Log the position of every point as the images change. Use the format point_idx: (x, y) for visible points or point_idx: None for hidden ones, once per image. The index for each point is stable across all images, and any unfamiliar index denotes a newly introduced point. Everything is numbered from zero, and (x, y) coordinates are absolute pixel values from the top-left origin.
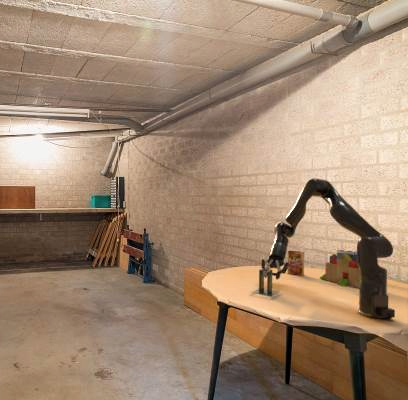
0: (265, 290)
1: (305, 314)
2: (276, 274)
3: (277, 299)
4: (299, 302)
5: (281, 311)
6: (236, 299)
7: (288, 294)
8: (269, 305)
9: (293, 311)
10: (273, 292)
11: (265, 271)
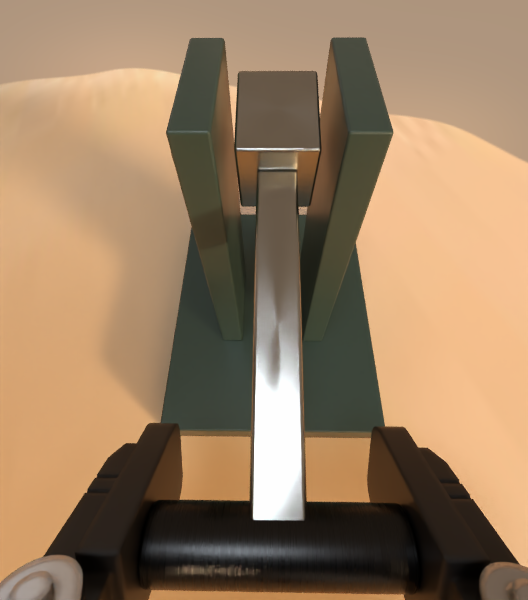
0: None
1: (12, 120)
2: (152, 463)
3: (163, 259)
4: (8, 287)
5: (119, 100)
6: None
7: None
8: None
9: (65, 124)
10: (208, 333)
11: (268, 79)
